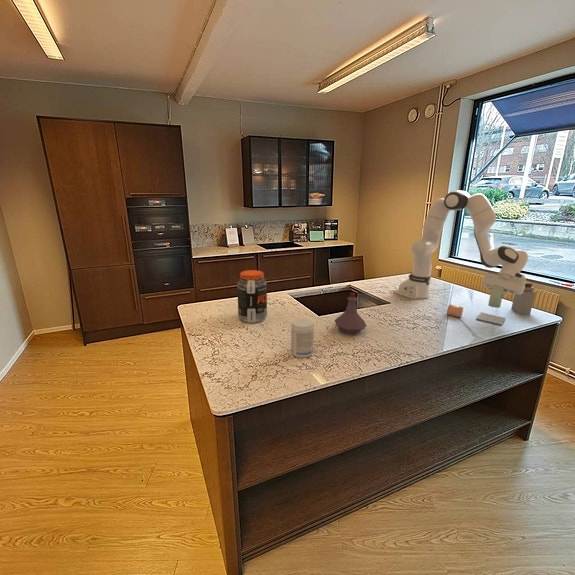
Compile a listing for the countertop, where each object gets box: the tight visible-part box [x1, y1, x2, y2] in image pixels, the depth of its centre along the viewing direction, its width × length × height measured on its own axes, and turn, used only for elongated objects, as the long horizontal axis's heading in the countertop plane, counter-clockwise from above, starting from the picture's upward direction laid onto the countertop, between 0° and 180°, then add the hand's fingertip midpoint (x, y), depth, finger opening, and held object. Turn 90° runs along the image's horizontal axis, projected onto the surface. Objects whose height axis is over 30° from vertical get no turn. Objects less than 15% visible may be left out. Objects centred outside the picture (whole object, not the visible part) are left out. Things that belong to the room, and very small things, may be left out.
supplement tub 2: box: [290, 317, 315, 358], centre depth 138 cm, size 10×10×15 cm
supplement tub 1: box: [236, 269, 268, 324], centre depth 173 cm, size 16×16×26 cm
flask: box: [334, 292, 368, 335], centre depth 160 cm, size 16×16×20 cm
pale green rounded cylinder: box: [487, 285, 505, 309], centre depth 175 cm, size 6×6×11 cm
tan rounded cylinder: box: [446, 304, 464, 318], centre depth 183 cm, size 7×6×6 cm
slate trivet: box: [475, 312, 506, 327], centre depth 179 cm, size 12×12×1 cm
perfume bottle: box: [510, 281, 537, 315], centre depth 188 cm, size 7×7×18 cm
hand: (495, 295), depth 174 cm, fingers closed on pale green rounded cylinder, 6 cm apart
